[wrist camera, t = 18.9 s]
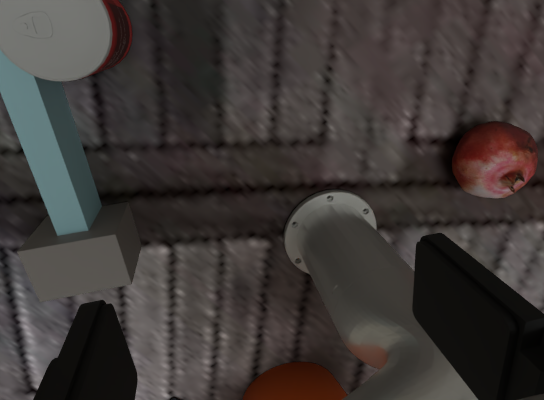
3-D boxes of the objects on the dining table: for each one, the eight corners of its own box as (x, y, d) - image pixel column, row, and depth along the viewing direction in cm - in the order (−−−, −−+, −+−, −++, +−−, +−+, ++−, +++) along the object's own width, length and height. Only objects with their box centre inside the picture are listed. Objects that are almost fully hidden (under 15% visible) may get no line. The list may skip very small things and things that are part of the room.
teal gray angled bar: (190, 236, 47) (189, 273, 40) (65, 259, 45) (40, 302, 38) (126, -46, 34) (108, -67, 27) (-51, -30, 33) (-121, -49, 25)
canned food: (27, 0, 34) (-42, -14, 25) (109, -30, 35) (73, -57, 25) (73, 82, 38) (28, 98, 28) (147, 54, 38) (130, 60, 28)
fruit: (503, 106, 48) (574, 123, 39) (501, 173, 52) (566, 202, 43) (437, 127, 47) (493, 148, 38) (440, 193, 51) (493, 226, 42)
